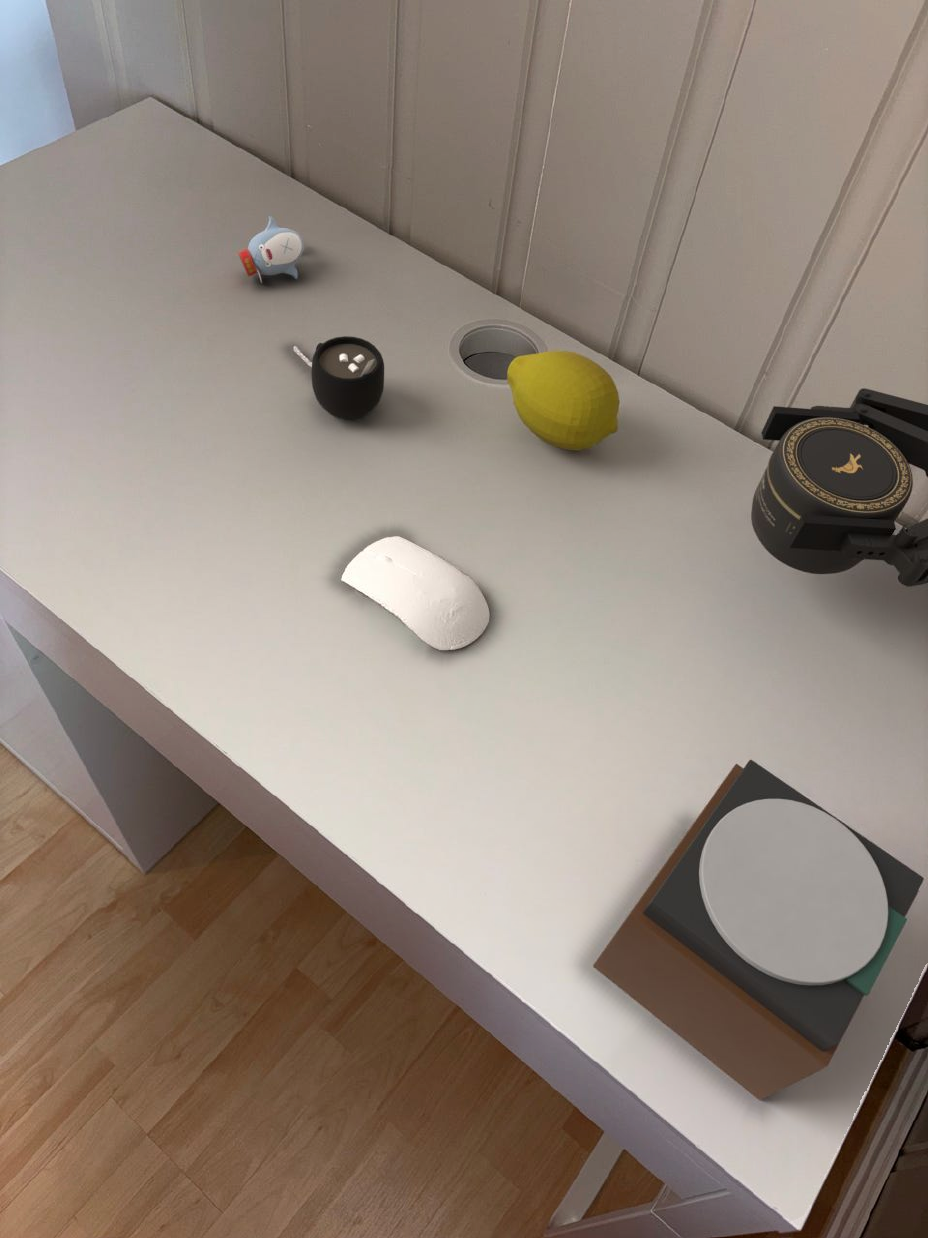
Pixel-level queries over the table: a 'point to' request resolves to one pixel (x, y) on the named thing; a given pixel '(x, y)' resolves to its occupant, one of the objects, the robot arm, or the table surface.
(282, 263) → the figurine
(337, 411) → the mug
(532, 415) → the lemon
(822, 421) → the jar
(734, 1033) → the scale
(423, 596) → the computer mouse
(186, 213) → the table surface
